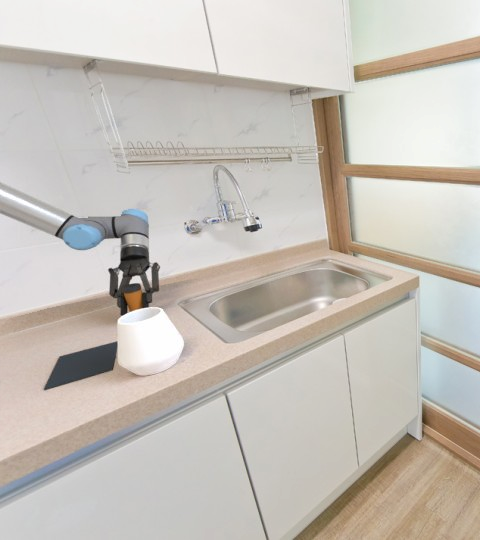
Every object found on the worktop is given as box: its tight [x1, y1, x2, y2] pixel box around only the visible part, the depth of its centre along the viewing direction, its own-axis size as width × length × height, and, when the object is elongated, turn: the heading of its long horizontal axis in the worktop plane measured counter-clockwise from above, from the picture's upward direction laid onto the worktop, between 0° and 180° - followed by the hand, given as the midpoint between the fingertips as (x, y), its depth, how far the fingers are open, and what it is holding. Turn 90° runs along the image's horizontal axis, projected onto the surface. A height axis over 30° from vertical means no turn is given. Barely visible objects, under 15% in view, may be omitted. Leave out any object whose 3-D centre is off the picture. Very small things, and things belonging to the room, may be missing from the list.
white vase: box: [116, 306, 185, 377], centre depth 81 cm, size 13×13×14 cm
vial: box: [121, 282, 143, 312], centre depth 105 cm, size 5×5×12 cm
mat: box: [43, 340, 118, 391], centre depth 84 cm, size 16×12×1 cm
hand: (135, 314), depth 103 cm, fingers open, 5 cm apart
